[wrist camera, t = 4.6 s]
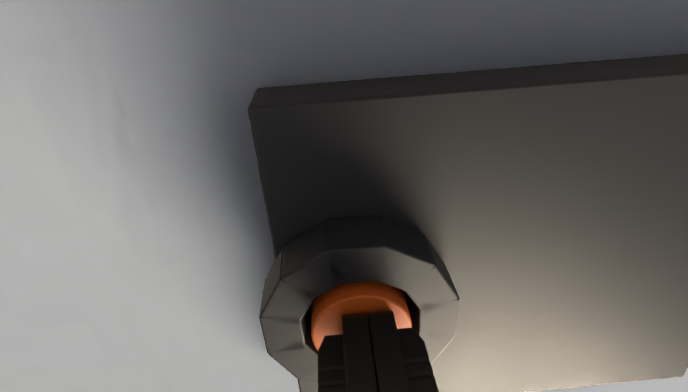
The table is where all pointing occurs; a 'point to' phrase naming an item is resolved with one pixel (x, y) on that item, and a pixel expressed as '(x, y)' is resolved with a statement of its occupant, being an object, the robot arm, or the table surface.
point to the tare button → (355, 307)
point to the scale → (488, 217)
